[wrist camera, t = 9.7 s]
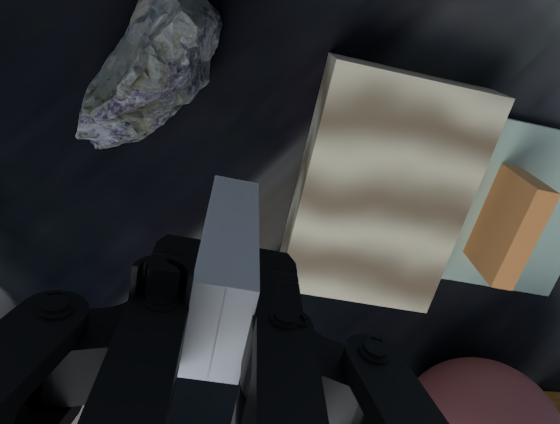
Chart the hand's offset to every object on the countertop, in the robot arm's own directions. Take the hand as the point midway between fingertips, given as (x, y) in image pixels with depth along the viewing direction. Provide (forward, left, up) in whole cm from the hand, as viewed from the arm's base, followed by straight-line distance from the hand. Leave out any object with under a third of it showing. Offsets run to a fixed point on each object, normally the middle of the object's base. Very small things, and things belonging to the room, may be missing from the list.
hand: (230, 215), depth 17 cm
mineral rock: (-1, -8, -25) cm, 26 cm away
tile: (+6, +23, -21) cm, 32 cm away
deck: (+6, +13, -24) cm, 28 cm away
